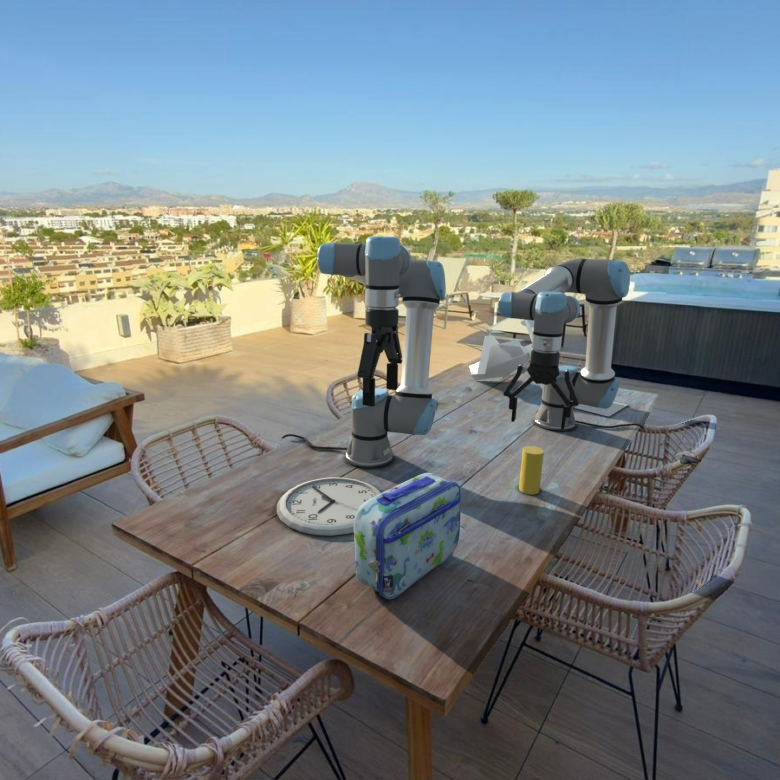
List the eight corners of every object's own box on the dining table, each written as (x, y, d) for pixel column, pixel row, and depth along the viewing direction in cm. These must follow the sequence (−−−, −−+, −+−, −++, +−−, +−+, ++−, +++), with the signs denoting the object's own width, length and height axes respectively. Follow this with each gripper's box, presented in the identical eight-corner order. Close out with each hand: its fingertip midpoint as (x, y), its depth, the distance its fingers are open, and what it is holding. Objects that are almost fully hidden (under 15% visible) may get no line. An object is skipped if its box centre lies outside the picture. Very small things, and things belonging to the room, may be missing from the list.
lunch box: (382, 612, 103) (384, 519, 97) (347, 586, 110) (346, 498, 104) (464, 557, 121) (469, 475, 114) (429, 538, 128) (432, 460, 122)
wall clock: (392, 527, 129) (268, 531, 127) (391, 533, 130) (269, 537, 127) (383, 473, 158) (282, 475, 155) (383, 478, 158) (282, 480, 156)
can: (518, 492, 151) (522, 452, 148) (519, 484, 157) (523, 444, 153) (539, 495, 150) (543, 455, 146) (539, 486, 155) (543, 447, 151)
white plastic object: (490, 422, 261) (470, 399, 236) (471, 348, 283) (451, 320, 258) (563, 398, 249) (550, 371, 224) (537, 323, 271) (522, 291, 246)
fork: (422, 410, 217) (423, 406, 216) (433, 399, 231) (433, 395, 231) (428, 411, 216) (429, 407, 216) (438, 400, 230) (439, 396, 230)
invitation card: (608, 416, 214) (573, 407, 224) (608, 416, 214) (573, 408, 224) (628, 404, 229) (594, 396, 238) (628, 405, 229) (594, 397, 238)
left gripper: (374, 316, 105) (373, 415, 112) (416, 302, 127) (414, 385, 134) (341, 313, 108) (342, 410, 115) (388, 299, 130) (387, 381, 137)
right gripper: (496, 348, 142) (490, 421, 148) (594, 358, 133) (583, 435, 139) (502, 343, 149) (496, 413, 155) (595, 352, 139) (585, 426, 146)
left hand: (380, 397), depth 124 cm, fingers open, 13 cm apart
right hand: (537, 424), depth 147 cm, fingers open, 13 cm apart
